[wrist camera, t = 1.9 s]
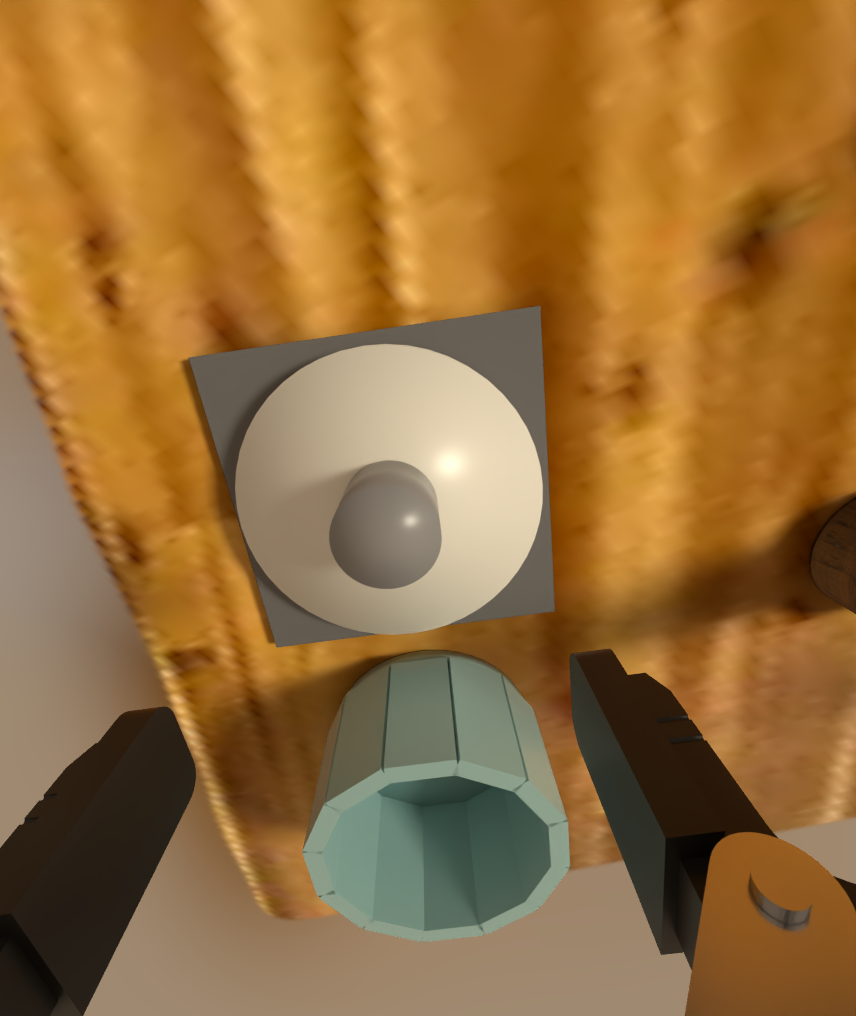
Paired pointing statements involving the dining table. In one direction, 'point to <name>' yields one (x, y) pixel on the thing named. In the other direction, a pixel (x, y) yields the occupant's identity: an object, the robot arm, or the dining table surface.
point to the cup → (435, 802)
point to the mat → (470, 340)
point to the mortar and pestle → (837, 558)
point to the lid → (389, 489)
